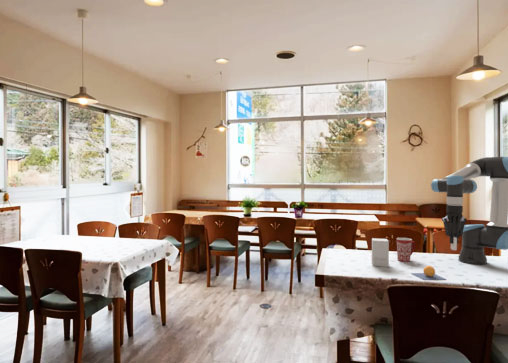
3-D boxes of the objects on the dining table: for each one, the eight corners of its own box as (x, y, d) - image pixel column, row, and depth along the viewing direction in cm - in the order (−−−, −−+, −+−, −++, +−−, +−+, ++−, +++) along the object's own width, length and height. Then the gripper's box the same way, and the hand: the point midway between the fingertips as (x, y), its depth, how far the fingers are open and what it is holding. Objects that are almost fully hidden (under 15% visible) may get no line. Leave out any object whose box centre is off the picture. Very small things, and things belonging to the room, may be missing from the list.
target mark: (432, 273, 195) (432, 272, 195) (446, 279, 183) (446, 279, 183) (411, 273, 194) (411, 273, 194) (423, 280, 182) (423, 279, 182)
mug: (402, 262, 219) (402, 240, 219) (392, 259, 228) (393, 237, 228) (419, 261, 223) (420, 239, 222) (409, 258, 231) (410, 237, 231)
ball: (428, 276, 191) (432, 267, 192) (434, 279, 186) (439, 270, 186) (419, 272, 191) (424, 263, 191) (425, 275, 185) (430, 265, 185)
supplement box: (387, 263, 216) (387, 238, 216) (388, 267, 207) (389, 241, 207) (371, 262, 218) (371, 237, 218) (372, 266, 210) (372, 240, 209)
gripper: (461, 204, 194) (460, 248, 194) (438, 204, 193) (437, 248, 193) (471, 205, 187) (470, 251, 187) (447, 205, 185) (446, 251, 185)
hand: (453, 249), depth 190 cm, fingers closed
